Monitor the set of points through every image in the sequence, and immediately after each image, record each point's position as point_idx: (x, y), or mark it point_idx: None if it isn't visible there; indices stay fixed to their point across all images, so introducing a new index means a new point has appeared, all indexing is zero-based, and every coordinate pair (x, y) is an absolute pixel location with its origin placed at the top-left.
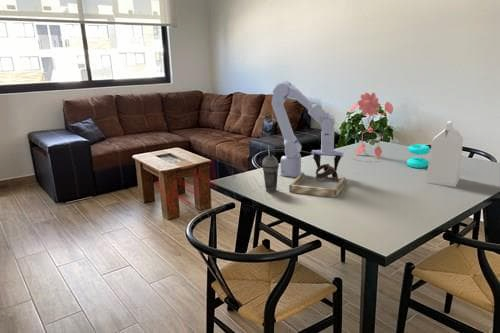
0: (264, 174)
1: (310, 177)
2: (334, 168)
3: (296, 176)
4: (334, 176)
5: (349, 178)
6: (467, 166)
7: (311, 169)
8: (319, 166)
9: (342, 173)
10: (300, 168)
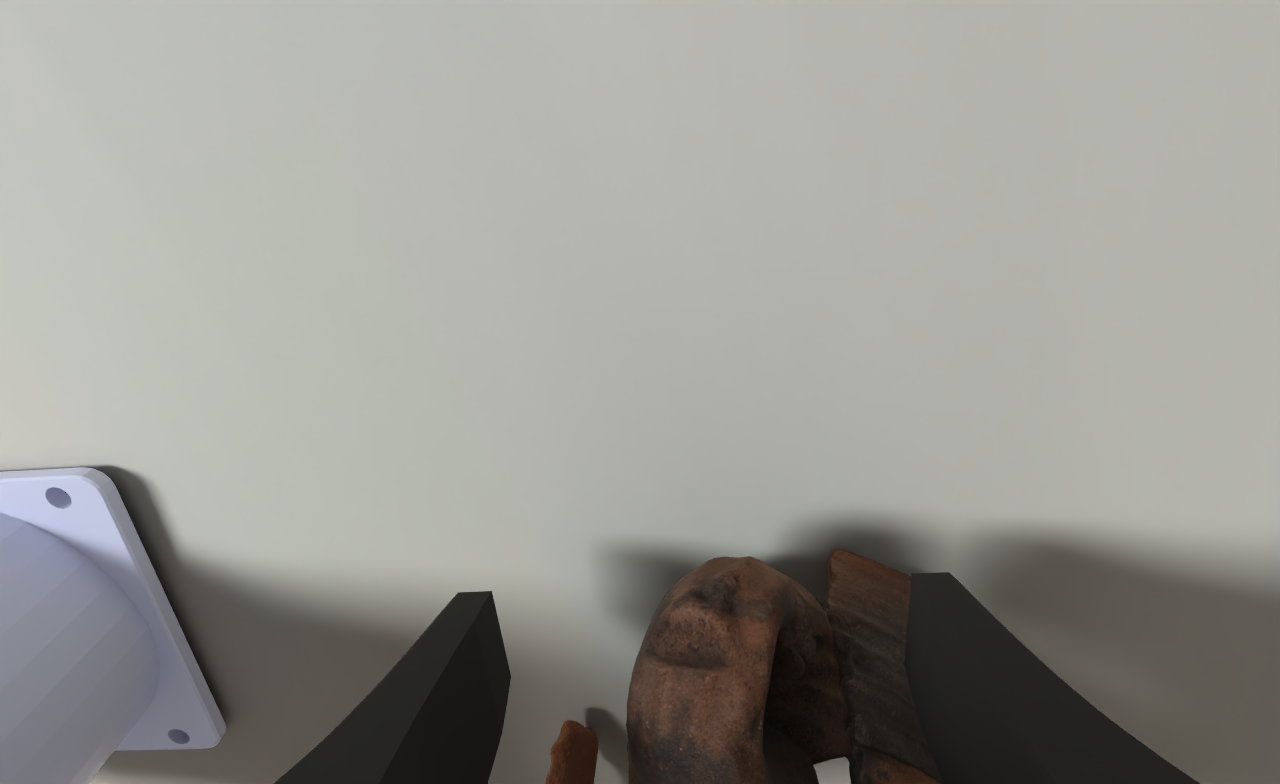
0: None
1: None
2: (946, 767)
3: (183, 745)
4: (889, 602)
5: (1221, 492)
6: None
7: (90, 149)
8: (477, 727)
9: (1027, 184)
10: (59, 732)
